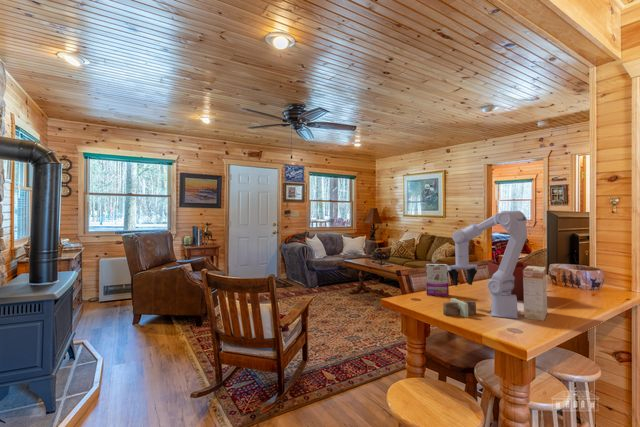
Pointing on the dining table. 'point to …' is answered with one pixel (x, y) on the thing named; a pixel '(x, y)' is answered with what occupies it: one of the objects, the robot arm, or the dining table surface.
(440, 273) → the candy bar box
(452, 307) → the base plate
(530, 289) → the coffeecake box
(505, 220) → the robot arm
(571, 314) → the dining table surface
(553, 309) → the dining table surface
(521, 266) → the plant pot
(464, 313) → the sage plate
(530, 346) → the dining table surface
